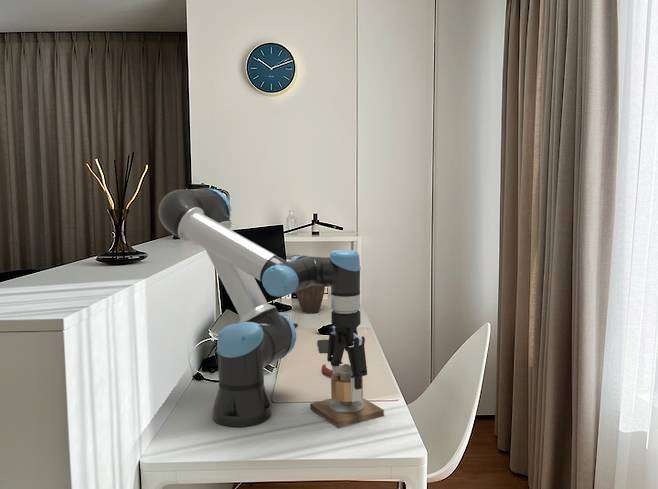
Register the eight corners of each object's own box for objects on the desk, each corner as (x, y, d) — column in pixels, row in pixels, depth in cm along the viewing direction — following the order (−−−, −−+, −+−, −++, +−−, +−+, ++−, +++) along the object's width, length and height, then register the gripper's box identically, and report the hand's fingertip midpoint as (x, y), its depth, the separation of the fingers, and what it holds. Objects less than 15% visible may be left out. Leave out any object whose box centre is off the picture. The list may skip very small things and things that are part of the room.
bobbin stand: (338, 427, 145) (337, 377, 143) (310, 408, 157) (309, 361, 155) (383, 415, 152) (383, 366, 150) (354, 398, 164) (353, 353, 162)
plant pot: (289, 314, 262) (288, 279, 260) (300, 307, 276) (299, 273, 274) (320, 316, 258) (320, 280, 256) (330, 309, 272) (330, 275, 270)
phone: (318, 352, 205) (316, 339, 220) (318, 354, 205) (316, 342, 220) (340, 351, 206) (336, 339, 220) (340, 354, 206) (336, 341, 220)
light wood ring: (342, 403, 148) (341, 384, 148) (325, 394, 155) (325, 375, 155) (368, 397, 152) (368, 378, 152) (351, 387, 159) (351, 370, 159)
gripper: (381, 316, 144) (382, 404, 147) (336, 301, 162) (337, 380, 165) (356, 320, 140) (357, 411, 143) (313, 304, 158) (314, 385, 161)
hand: (346, 394), depth 154 cm, fingers closed on light wood ring, 8 cm apart
